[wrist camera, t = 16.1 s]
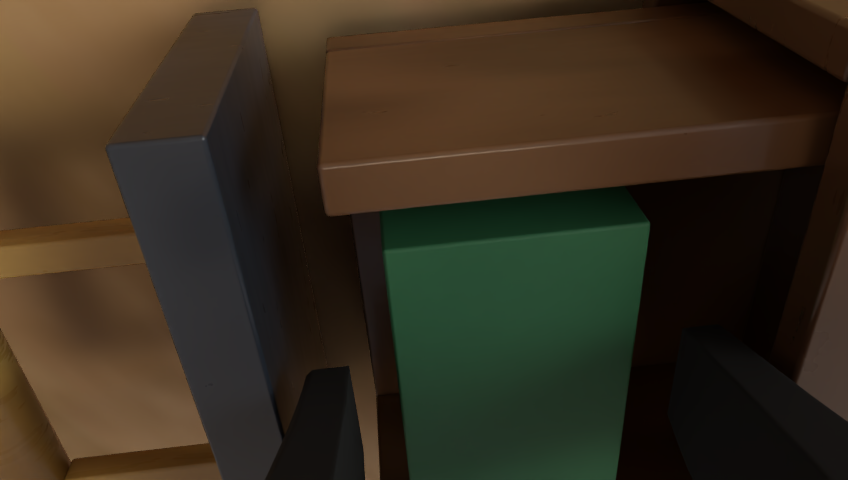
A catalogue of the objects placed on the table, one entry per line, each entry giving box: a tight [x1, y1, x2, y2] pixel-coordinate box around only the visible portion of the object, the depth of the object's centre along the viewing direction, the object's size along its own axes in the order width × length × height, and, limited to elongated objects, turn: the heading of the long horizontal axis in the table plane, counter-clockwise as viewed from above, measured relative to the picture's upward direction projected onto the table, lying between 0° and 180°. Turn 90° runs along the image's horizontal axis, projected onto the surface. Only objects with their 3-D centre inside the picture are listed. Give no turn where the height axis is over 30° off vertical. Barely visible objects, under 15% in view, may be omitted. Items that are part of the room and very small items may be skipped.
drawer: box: [0, 2, 848, 480], centre depth 14 cm, size 18×11×6 cm, turn 94°
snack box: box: [379, 186, 650, 480], centre depth 13 cm, size 4×6×4 cm, turn 4°
